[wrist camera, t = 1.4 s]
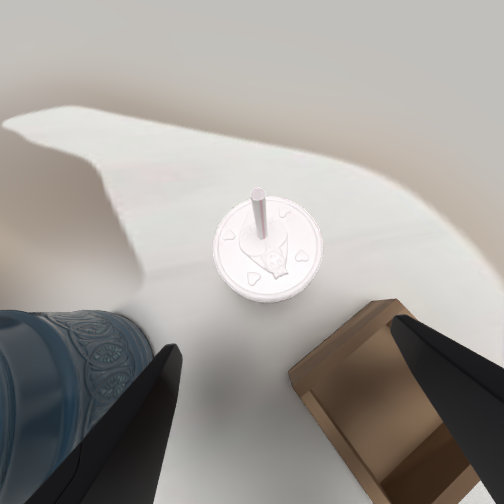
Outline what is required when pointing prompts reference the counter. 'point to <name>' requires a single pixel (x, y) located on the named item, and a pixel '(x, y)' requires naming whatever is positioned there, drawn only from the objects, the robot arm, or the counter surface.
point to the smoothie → (267, 248)
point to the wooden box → (381, 414)
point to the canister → (58, 387)
